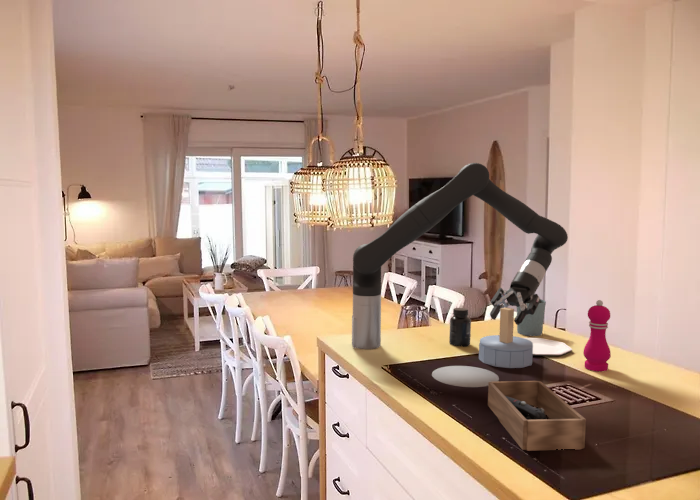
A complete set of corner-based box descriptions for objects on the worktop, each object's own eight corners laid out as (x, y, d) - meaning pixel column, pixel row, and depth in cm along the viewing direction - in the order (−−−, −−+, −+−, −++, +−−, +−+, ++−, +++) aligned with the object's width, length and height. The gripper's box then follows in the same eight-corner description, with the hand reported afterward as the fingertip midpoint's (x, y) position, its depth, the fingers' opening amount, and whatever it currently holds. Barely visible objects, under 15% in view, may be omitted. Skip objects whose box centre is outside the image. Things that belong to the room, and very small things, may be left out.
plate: (525, 339, 201) (525, 334, 201) (580, 350, 187) (581, 345, 187) (494, 349, 187) (494, 345, 187) (551, 362, 173) (551, 357, 173)
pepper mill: (608, 366, 169) (612, 298, 167) (611, 373, 162) (614, 303, 160) (582, 363, 172) (585, 297, 169) (583, 370, 165) (586, 301, 163)
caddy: (523, 450, 114) (524, 421, 113) (487, 406, 137) (488, 381, 137) (585, 449, 115) (586, 420, 114) (539, 405, 138) (540, 380, 138)
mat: (439, 389, 149) (439, 387, 149) (426, 367, 167) (426, 366, 167) (508, 387, 150) (508, 386, 150) (487, 366, 168) (487, 365, 168)
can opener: (554, 437, 121) (555, 411, 120) (525, 441, 119) (526, 414, 118) (509, 406, 138) (509, 383, 137) (482, 409, 136) (483, 386, 135)
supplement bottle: (472, 347, 188) (473, 311, 187) (451, 347, 188) (451, 311, 187) (468, 342, 195) (469, 307, 194) (447, 341, 195) (448, 306, 194)
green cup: (542, 330, 211) (543, 298, 210) (546, 337, 202) (548, 303, 200) (513, 329, 213) (514, 297, 212) (516, 336, 203) (517, 302, 202)
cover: (511, 372, 163) (513, 316, 161) (468, 359, 175) (470, 307, 173) (542, 362, 172) (544, 309, 171) (499, 351, 184) (501, 301, 182)
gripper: (503, 268, 181) (479, 308, 175) (544, 273, 170) (519, 317, 164) (513, 283, 185) (489, 323, 179) (553, 289, 173) (529, 332, 168)
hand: (504, 320), depth 171 cm, fingers open, 8 cm apart
